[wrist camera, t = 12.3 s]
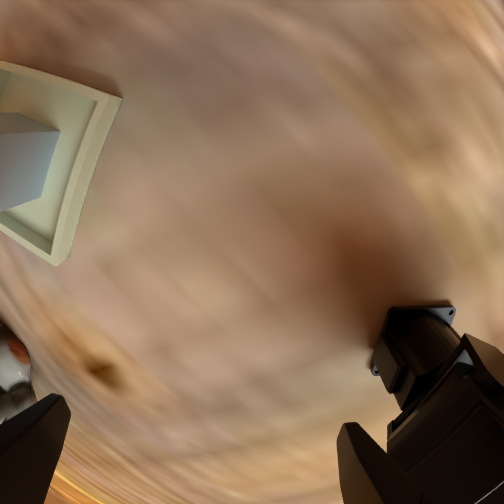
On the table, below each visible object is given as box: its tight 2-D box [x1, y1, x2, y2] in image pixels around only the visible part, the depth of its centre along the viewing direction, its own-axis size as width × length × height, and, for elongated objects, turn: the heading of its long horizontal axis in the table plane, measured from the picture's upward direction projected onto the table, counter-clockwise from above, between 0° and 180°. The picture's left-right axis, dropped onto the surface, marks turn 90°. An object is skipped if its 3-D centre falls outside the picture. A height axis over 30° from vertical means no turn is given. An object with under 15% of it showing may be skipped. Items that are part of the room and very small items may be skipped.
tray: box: [0, 61, 123, 267], centre depth 17 cm, size 12×12×2 cm
